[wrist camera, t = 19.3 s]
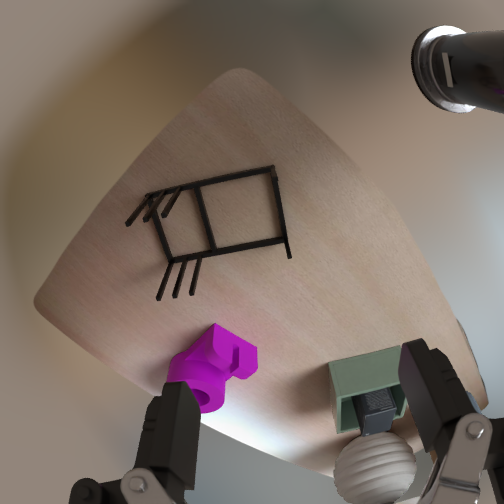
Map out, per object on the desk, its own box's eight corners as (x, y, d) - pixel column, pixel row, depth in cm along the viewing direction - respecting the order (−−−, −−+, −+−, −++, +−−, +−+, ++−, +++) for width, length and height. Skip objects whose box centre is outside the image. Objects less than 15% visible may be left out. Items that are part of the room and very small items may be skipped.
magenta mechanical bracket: (205, 392, 57) (202, 419, 52) (160, 370, 54) (154, 397, 49) (260, 349, 52) (261, 378, 46) (210, 320, 48) (207, 350, 43)
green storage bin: (399, 345, 52) (414, 376, 46) (392, 388, 59) (403, 417, 52) (328, 362, 54) (336, 396, 47) (330, 403, 60) (336, 434, 53)
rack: (274, 164, 37) (281, 187, 29) (287, 239, 42) (297, 277, 34) (146, 193, 39) (122, 222, 31) (170, 261, 43) (155, 302, 35)
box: (376, 387, 57) (390, 430, 48) (349, 394, 58) (361, 437, 48) (380, 363, 53) (397, 408, 44) (351, 370, 54) (365, 417, 45)
